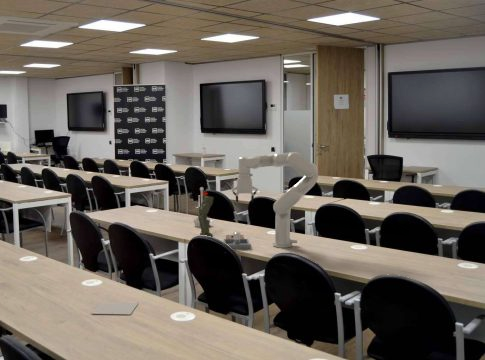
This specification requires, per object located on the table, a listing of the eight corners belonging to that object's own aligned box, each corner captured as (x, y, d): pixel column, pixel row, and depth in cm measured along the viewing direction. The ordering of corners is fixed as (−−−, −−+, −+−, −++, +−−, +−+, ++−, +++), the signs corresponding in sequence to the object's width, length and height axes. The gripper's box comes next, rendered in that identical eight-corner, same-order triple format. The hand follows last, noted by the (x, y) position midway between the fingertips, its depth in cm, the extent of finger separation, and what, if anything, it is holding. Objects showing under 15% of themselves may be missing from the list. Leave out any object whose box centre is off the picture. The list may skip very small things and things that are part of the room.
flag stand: (196, 227, 396) (195, 188, 392) (191, 224, 408) (191, 186, 404) (212, 226, 400) (212, 187, 397) (207, 223, 412) (207, 185, 409)
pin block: (243, 238, 361) (243, 234, 361) (244, 242, 349) (244, 238, 349) (226, 238, 361) (226, 234, 360) (226, 242, 349) (226, 238, 348)
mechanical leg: (200, 239, 355) (206, 195, 357) (192, 237, 359) (198, 194, 361) (213, 240, 366) (219, 197, 368) (205, 238, 370) (211, 196, 372)
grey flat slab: (124, 324, 210) (124, 323, 210) (63, 323, 211) (63, 321, 211) (138, 304, 233) (138, 302, 233) (83, 303, 234) (83, 301, 234)
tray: (247, 243, 347) (247, 238, 346) (249, 249, 331) (249, 244, 330) (223, 243, 346) (223, 239, 345) (224, 249, 330) (224, 244, 329)
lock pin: (239, 244, 340) (239, 232, 339) (240, 245, 336) (240, 233, 335) (233, 244, 340) (233, 232, 339) (233, 246, 336) (233, 233, 335)
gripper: (257, 175, 345) (257, 200, 347) (230, 175, 344) (231, 201, 346) (258, 176, 338) (258, 202, 340) (231, 176, 336) (232, 203, 338)
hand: (244, 201), depth 343 cm, fingers open, 9 cm apart
